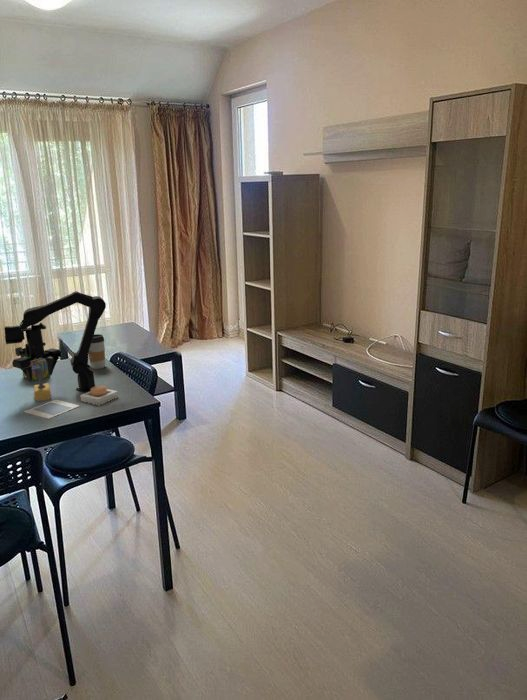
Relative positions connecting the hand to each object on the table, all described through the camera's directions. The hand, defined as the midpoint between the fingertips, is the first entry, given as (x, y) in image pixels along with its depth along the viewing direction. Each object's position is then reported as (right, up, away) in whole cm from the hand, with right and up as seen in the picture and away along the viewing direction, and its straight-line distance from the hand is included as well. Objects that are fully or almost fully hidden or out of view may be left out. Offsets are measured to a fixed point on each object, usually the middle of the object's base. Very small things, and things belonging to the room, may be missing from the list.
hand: (40, 378), depth 215 cm
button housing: (+25, -8, -4) cm, 26 cm away
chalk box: (-13, -1, +26) cm, 29 cm away
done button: (+25, -6, -4) cm, 26 cm away
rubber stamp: (0, -7, +2) cm, 8 cm away
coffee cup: (+11, +3, +38) cm, 40 cm away
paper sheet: (+10, -11, -13) cm, 19 cm away
